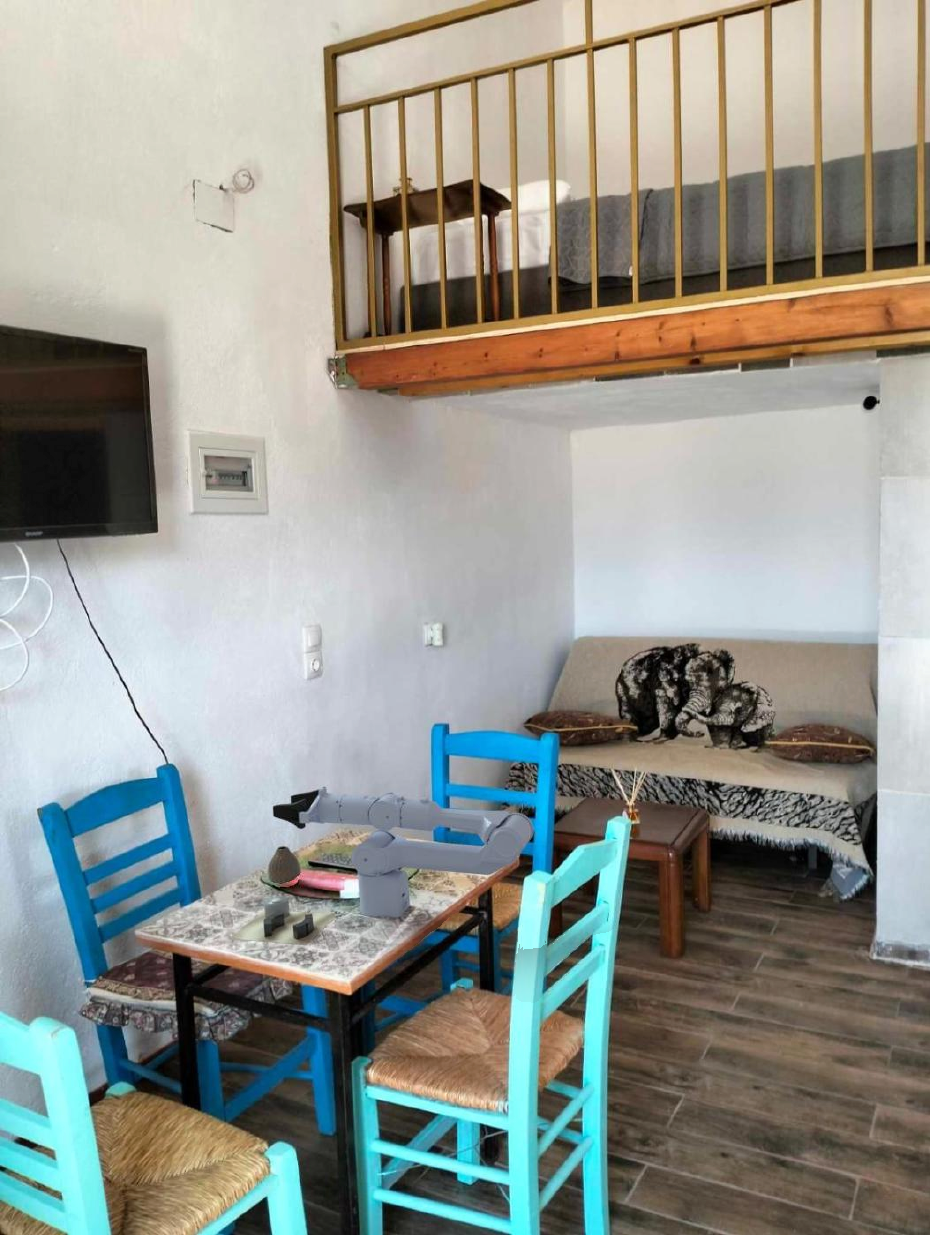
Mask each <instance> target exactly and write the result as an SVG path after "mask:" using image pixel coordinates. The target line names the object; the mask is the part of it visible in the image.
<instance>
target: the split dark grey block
mask: <svg viewBox="0 0 930 1235" xmlns="http://www.w3.org/2000/svg"><path fill="white" fill-rule="evenodd" d="M263 924H264V936H265V937H269V936H272V932H273V931H274V930H275V929H276V928H279V927H281V926H284V925H285V921H284V913H282V912H277V913H274V914H271V915H269V916H268V917H267V918H265V919H264V921H263ZM313 930H314V925H313V915H312V914H307V915H305V919H304V920H303V921H302V922H300V923H298V924H295V925H293V937H294V938H295V939H297V940H298V939H301V938H304V937H306V936H307V935H309V934H311V933H312V932H313Z"/></svg>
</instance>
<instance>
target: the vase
mask: <svg viewBox="0 0 930 1235" xmlns="http://www.w3.org/2000/svg"><path fill="white" fill-rule="evenodd" d="M300 873H302V871H301V864H300V862H299V859H298V857H297V856H296V855H295V854H294V853H293V852H292V851H291V850H290V848H289V846H287V845H282V846H278V847H277V848H276V850H275V853H274V855H273V856H272V858H271V859H270V861H269V864H268V868H267V875H268V880H269V882H270V881H271V882H273V883H279V884H283V883H286V882H290V881H292V880H294V879H295V878H296V877H297V876H299V875H300ZM300 876H301V875H300ZM271 882H270V883H271Z"/></svg>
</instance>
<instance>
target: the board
mask: <svg viewBox="0 0 930 1235" xmlns="http://www.w3.org/2000/svg"><path fill="white" fill-rule="evenodd" d="M289 912H290V915H289V916H288V917H287V918H285V919H284V921H285V925H284V926H281V927H279V928H276V929H275V930H274V931H273V932H272V936H269V937H265V936H264V924H263V921H264V919H265V911H264V910H263V911H262V912H260V913H259V915H257V916H256V917H254V918H253V919H252V920H250V921H249V922H248V923H247V924H245V925H244V926H243V927H242V928H241V929H239V930H237V932H235V933H234V934H233V935H232V936H230V937H229V938H228V939H229V940H239V941H240V940H242V941H253V942H263V943H265V942H266V943H274V944H276V943H277V944H289V945H299V946H301V945H302V946H306V945H307V944H309V943H310V942H311V941H312V940H313V939H314V938H315V937H316V936H317V935H319V933H320V932H322V931H323V929H325V928H326V927H327V926H328V925H329V924H330V923H331V922H333V920H334V919H336V918H337V917H338V916H339V914H334V913H332V914H331V913H320V912H319V913H318V912H308V911H307V912H305V911H292V910H289ZM307 914H312V915H313V925H314V930H313V932H312V933H311V934H309V935H307V936H306V937H304V938H301V939H298V940H297V939H295V938H294V937H293V925H295V924H298V923H300V922H302V921H303V920H304V919H305V915H307Z"/></svg>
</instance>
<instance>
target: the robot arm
mask: <svg viewBox="0 0 930 1235" xmlns="http://www.w3.org/2000/svg"><path fill="white" fill-rule="evenodd" d="M272 816H273V817H274V818H277V819H280V820H283V821H285V822H287V823H291V825H293V826H295V827H296V828H297V829H299V830H304V829H305V828H307V827H306V825H307V824H310V823H312V824H313V823H315V824H321V825H323V824H340V825H356V826H373V827H374V828H375V829H376V830H375V831H373V832H371V834H370V835H369V836H368V837H367V838H366V839H365V840H362V842H361V843H359V844H358V845H356V846H355V847H353V849H352V852H351V863H352V866H353V867H354V869H355V870H356V871H357V879H358V881H357V882H358V892H359V893H358V894H359V905H360V906H359V907H360V908H359V909H360V913H361V914H362V915H364V916H367V917H375V918H377V917H378V918H379V917H391V918H401V916H402V915H403V914H404V912H405V911H406V910H407V909H408V908H409V907H411V902H410V901H411V900H410V887H409V876H408V873H407V871H405V870H403V869H402V868H404V869H414V870H415V869H416V870H427V871H437V872H438V871H439V872H449V873H459V874H461V873H462V874H471V875H473V874H474V875H483V876H488V875H489V876H490V875H493V874H495V873H496V872H497V871H500V870H501V869H503V868H505V867H507V866H509V865H513V864H514V863H515V861H516V860H517V858H519V857H520V855H521V854H522V851H523V850H524V849H525V847H526V846H527V845H528V844H529V842H530V841H531V839H532V838H533V835H534V830H535V829H534V825H533V822H532V821H531V819H530V818H529V817H528V816H526V815H525V814H523V813H519V812H512V813H511V812H510V811H507V810H477V809H461V808H459V809H458V808H442V807H441V806H439V804H438V803H437V802H436V801H433V800H429V797H426V796H422V797H421V798H420V799H413V798H404V796H403V795H396V794H394V792H387V793H385V794H383V795H382V796H381V797H380V796H372V795H371V796H370V795H364V794H363V795H360V794H345V793H344V794H341V793H337V792H336V793H335V792H333V793H331V792H330V793H329V792H327V788H326V786H323V787H320V788H319V789H316V790H312V791H308V792H307V791H306V792H303V793H296V794H292V795H291V796H290V803H280V804H276V805H273V806H272ZM438 827H442V828H449V829H456V830H461V831H468V832H474V833H476V834H477V835H478V837H479V838H480V839H481V842H482V843H483V844H484V845H483V846H482V845H471V844H469V845H468V844H458V843H445V842H435V841H434V842H432V841H421V840H419V841H418V840H409V839H406V838H405V837H404V836H403V835H401V834H400V835H397V834H394V833H392V832H390V830H392V829H393V828H398V829H399V828H400V829H405V830H414V831H415V830H416V831H424V832H432V831H434V830H435V829H436V828H438ZM401 869H402V870H401Z"/></svg>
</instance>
